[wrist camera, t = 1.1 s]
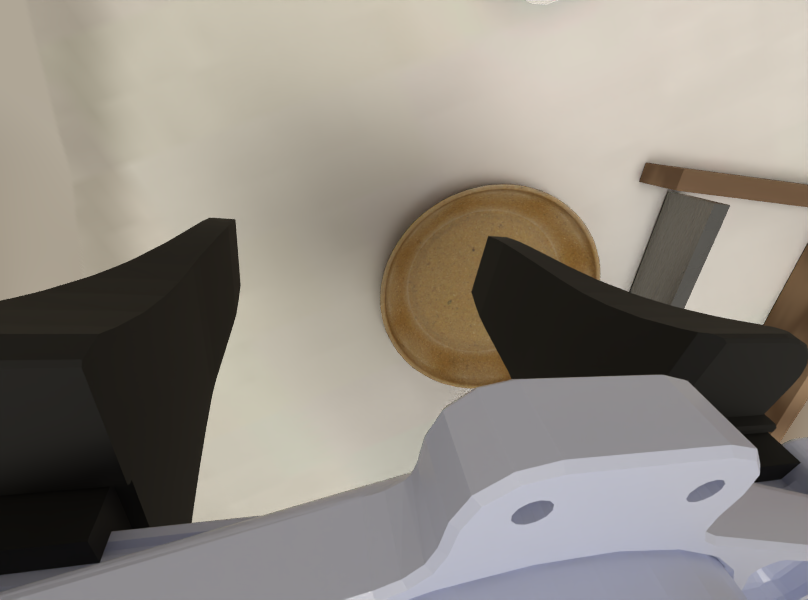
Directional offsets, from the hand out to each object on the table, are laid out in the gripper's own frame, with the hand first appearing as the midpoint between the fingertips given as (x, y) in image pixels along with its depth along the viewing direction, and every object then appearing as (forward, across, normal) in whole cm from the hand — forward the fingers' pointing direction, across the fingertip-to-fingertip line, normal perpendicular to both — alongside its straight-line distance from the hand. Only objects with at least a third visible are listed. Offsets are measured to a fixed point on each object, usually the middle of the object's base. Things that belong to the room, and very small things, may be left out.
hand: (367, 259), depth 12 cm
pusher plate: (+11, -23, +8) cm, 27 cm away
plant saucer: (+13, -11, +9) cm, 19 cm away
